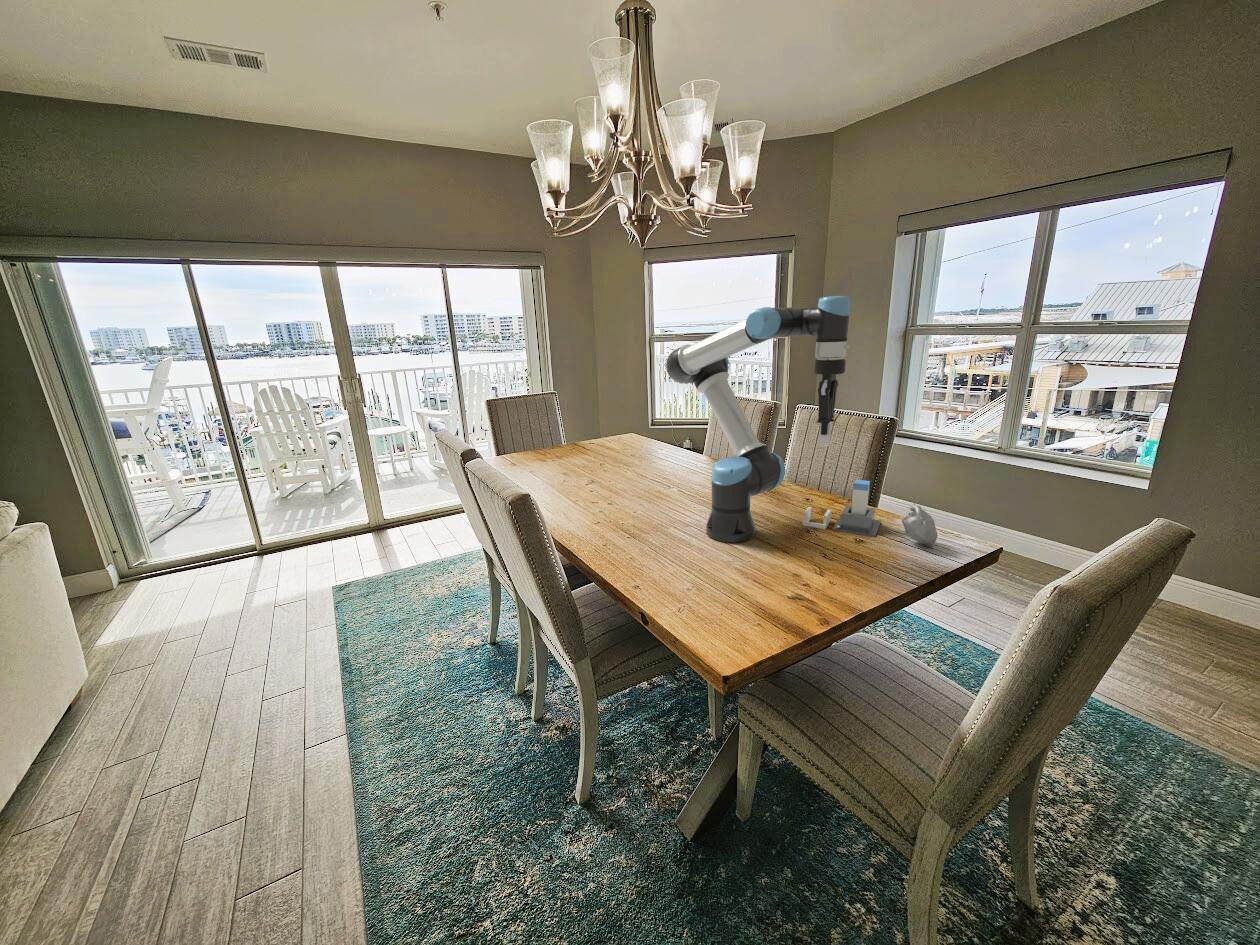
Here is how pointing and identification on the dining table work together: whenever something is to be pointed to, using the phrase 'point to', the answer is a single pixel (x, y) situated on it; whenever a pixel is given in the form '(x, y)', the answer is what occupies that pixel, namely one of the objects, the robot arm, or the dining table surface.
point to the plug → (860, 497)
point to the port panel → (857, 522)
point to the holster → (822, 526)
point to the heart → (920, 526)
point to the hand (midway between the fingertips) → (824, 445)
